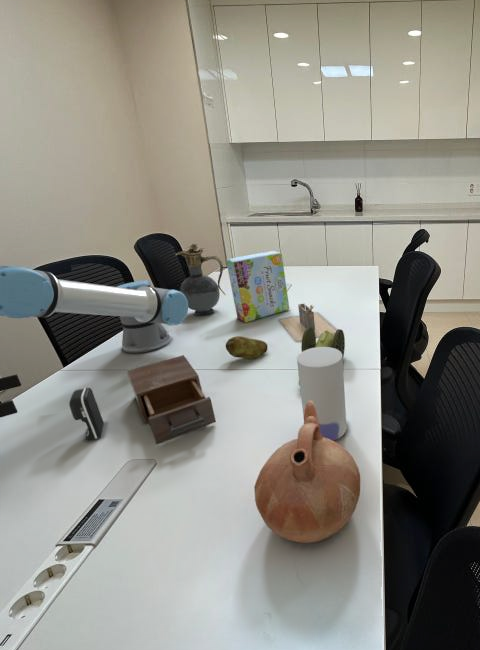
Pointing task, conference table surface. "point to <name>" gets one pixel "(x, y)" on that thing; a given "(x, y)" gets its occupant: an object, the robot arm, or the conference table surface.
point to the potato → (246, 347)
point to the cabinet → (160, 378)
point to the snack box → (258, 285)
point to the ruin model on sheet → (306, 323)
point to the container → (324, 388)
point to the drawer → (178, 410)
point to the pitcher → (200, 282)
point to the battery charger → (87, 412)
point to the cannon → (323, 340)
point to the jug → (308, 485)
